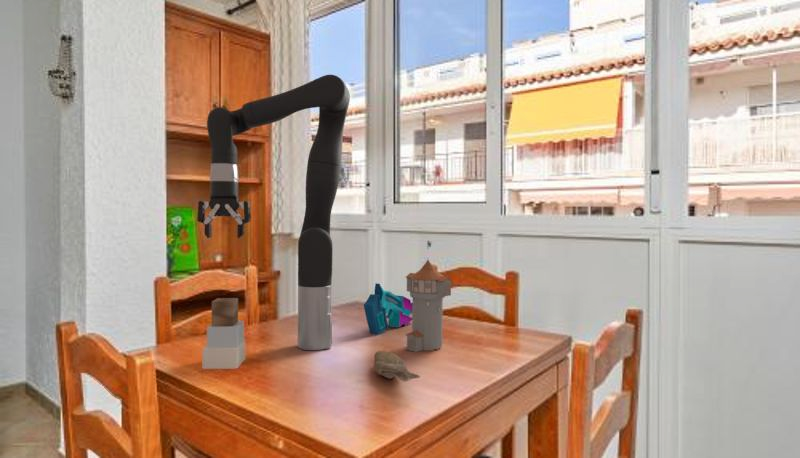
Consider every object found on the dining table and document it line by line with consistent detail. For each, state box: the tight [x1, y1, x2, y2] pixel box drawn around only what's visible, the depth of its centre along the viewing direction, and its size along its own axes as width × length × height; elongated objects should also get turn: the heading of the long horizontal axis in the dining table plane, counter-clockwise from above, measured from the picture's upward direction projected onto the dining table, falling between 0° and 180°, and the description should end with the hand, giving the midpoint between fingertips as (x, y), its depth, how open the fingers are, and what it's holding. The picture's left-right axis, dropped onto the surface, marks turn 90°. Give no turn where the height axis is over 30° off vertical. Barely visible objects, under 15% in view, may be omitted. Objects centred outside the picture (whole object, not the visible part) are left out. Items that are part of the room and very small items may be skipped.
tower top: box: [206, 320, 245, 348], centre depth 123 cm, size 7×7×5 cm
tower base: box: [201, 339, 246, 370], centre depth 123 cm, size 8×8×5 cm
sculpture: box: [373, 350, 421, 382], centre depth 111 cm, size 6×25×5 cm, turn 21°
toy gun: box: [363, 283, 413, 336], centre depth 162 cm, size 4×26×15 cm, turn 148°
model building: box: [405, 240, 453, 353], centre depth 140 cm, size 14×12×30 cm
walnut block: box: [211, 297, 239, 326], centre depth 122 cm, size 5×5×6 cm
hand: (224, 237), depth 141 cm, fingers open, 8 cm apart
